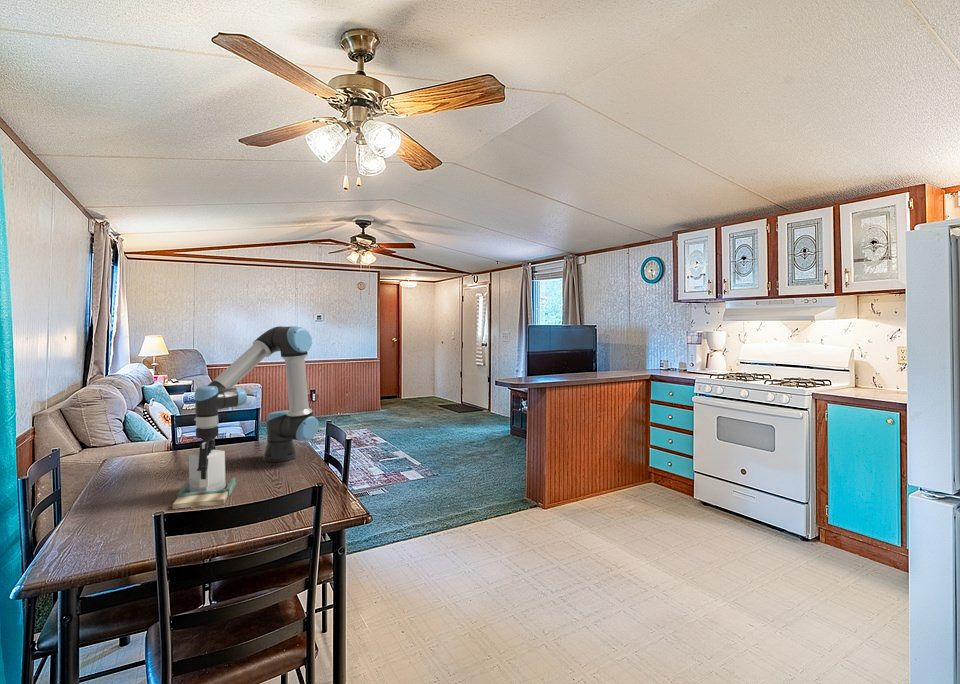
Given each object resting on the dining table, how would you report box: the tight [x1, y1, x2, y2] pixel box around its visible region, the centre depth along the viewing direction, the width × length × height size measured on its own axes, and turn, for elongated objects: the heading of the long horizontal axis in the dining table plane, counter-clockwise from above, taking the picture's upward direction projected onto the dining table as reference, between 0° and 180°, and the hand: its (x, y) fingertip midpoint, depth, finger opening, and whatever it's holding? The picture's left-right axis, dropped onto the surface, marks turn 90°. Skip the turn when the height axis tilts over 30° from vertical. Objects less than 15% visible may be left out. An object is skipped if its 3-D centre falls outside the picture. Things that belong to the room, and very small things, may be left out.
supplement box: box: [188, 449, 226, 492], centre depth 181 cm, size 9×9×15 cm
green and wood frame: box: [172, 476, 237, 510], centre depth 178 cm, size 17×22×3 cm
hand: (207, 481), depth 181 cm, fingers closed on supplement box, 12 cm apart
